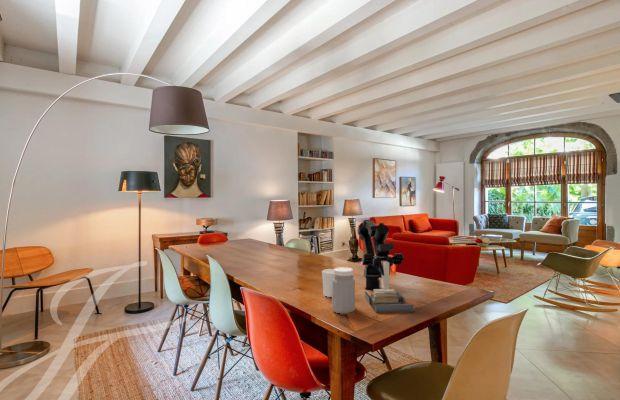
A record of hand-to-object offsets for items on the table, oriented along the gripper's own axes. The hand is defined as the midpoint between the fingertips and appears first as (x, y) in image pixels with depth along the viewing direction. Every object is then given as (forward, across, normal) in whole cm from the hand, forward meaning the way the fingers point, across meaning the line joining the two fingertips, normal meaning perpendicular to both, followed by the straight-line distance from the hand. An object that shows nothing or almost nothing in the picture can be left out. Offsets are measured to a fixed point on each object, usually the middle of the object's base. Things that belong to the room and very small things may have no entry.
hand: (386, 275), depth 148 cm
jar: (+14, -21, +5) cm, 26 cm away
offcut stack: (+7, 0, +12) cm, 14 cm away
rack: (+11, 0, +8) cm, 14 cm away
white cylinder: (-1, -23, +21) cm, 31 cm away
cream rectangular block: (+4, 0, +5) cm, 6 cm away
